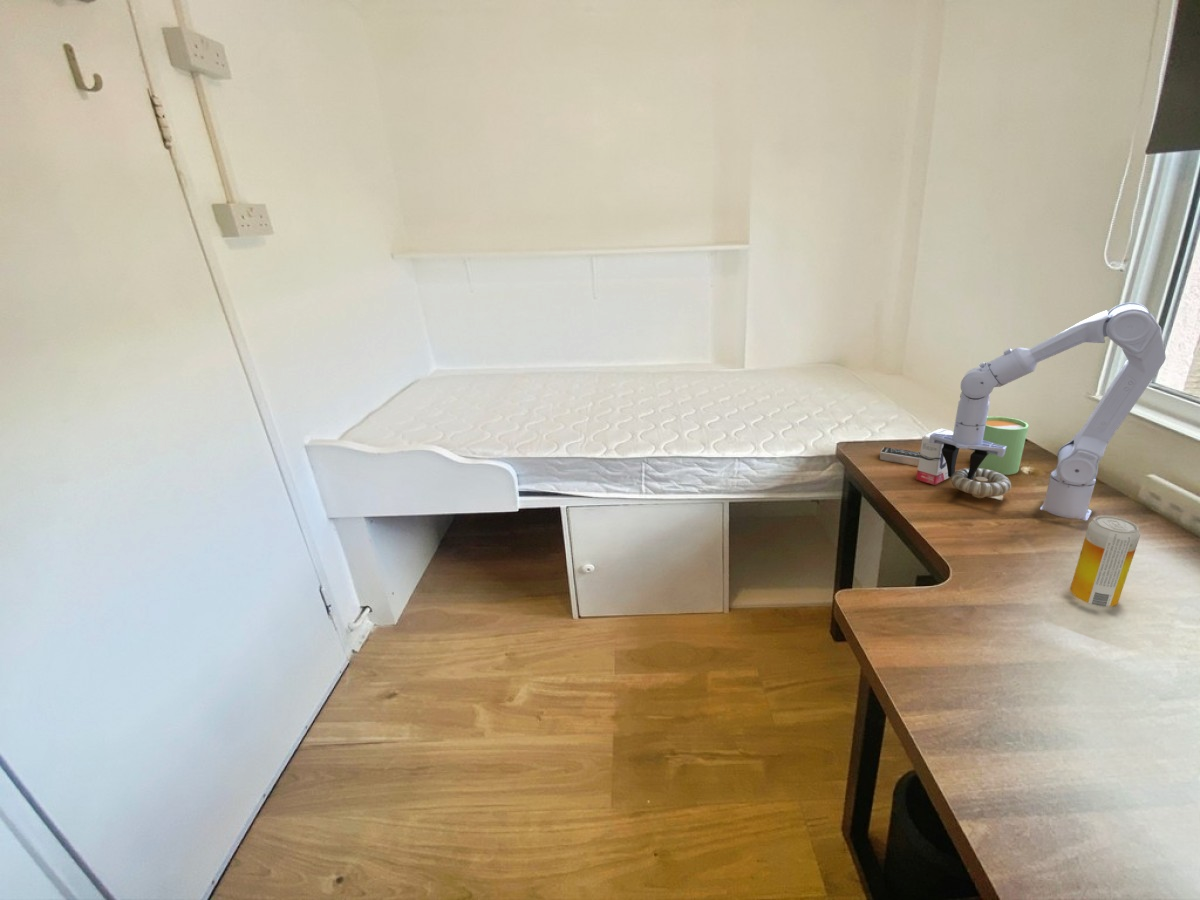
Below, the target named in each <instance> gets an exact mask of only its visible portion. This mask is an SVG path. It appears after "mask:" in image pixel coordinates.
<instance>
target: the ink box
mask: <svg viewBox="0 0 1200 900" xmlns="http://www.w3.org/2000/svg"><path fill="white" fill-rule="evenodd" d="M953 432H954V430H953V431H952V430H949V429H945V428H938V429H936V430H933V431H931V432H929V433H926V434H924V435H923V436H922V438H921V444H920V450H919V452H920V457H919V464H918V466H917V471H916V478H915V479H916V481H920V482H924V483H926V484H928V485H929V484H930V485H933V486H936V485H938V484H939V483H941V482H944V481H946V480H948V479H951V477H948V469H947V464H946V461H945V458H944V456H943V454H942V448H943V446H944V445H943V444H938V443H934V444H933V443H929V440H930V435H931V434H933V433H936V434H946V435H953Z"/></svg>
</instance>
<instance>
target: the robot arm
mask: <svg viewBox="0 0 1200 900" xmlns="http://www.w3.org/2000/svg"><path fill="white" fill-rule="evenodd" d="M1107 337H1108V339H1110V340H1111V342H1113V343H1114V344H1115V345H1116V346H1118V347H1120V348H1121V349H1122V352H1123V354H1124V355H1125V357H1126V360H1125V362H1124V363H1123V365H1122V367H1121V368H1120V370H1119V371H1118V373H1116V375H1115V377H1114V379H1113V380H1112V382H1111V383H1110V385H1109V386H1108V388H1107V389H1106V391H1105V392H1104V394H1103V395H1102V397H1101V399H1100V400H1099V402H1098V403H1097V405H1096V406H1095V407H1094V409H1093V411H1092V412H1091V413H1090V415H1089V417H1088V418H1087V420H1086V421H1085V422H1084V425H1083V426H1082V427H1081V429H1080V430H1078V431H1077V433H1076V434H1074V436H1073V437H1072V439H1071V440H1069V442H1067V443H1065V444H1063V445H1062V446H1060V448H1059V449H1058V451H1057V453H1056V454H1057V455H1056V456H1057V465H1056V468H1055V469H1054V470H1052V471H1051V472H1050V476H1049V480H1048V484H1047V487H1046V493H1045V497H1044V500H1043V503H1042V505H1041V506H1040V507H1039V510H1041V511H1045V512H1047V513H1049V514H1051V515H1053V516H1056V517H1060V518H1065V519H1074V520H1075V519H1076V520H1077V519H1079V520H1083V521H1088V520H1089V518H1090V516H1091V514H1092V509H1089V507H1090V503H1091V499H1092V496H1093V492H1094V489H1095V486H1096V482H1097V476H1098V474H1099V463H1100V461H1101V460H1102V459H1103V456H1104V455H1105V452H1106V449H1107V446H1108V444H1109V443H1110V441H1111V440H1112V438H1113V437H1114V436H1115V434H1116V432H1117V431H1118V429H1119V428H1120V427H1121V425H1122V423H1123V422H1124V421H1125V419H1126V418H1127V416H1129V414H1130V412H1131V411H1132V409H1133V408H1134V406H1135V405H1136V404H1137V402H1138V401H1139V399H1140V398H1141V396H1142V395H1143V394H1144V392H1145V391H1146V390H1147V388H1148V386H1149V385H1150V384H1151V382H1152V381H1153V380H1154V377H1155V376H1156V375H1157V373H1158V372H1159V370H1160V369H1161V368H1162V366H1163V365H1164V363H1165V361H1166V358H1167V355H1166V351H1165V345H1164V340H1163V334H1162V326H1160V325H1159V323H1158V322H1157V320H1156V318H1155V317H1154V315H1153V314H1152V313H1151V312H1150V310H1149V309H1148V308H1147V307H1146V306H1145V305H1143V304H1141V303H1138V302H1123V303H1120V304H1118V305H1116V306H1113V307H1112V308H1111V309H1110V310H1109V311H1108V310H1103V311H1100V312H1098V313H1096V314H1094V315H1091V316H1090V317H1088V318H1086V319H1083V320H1080V321H1079V322H1077V323H1075V324H1074V325H1072V326H1070V327H1068V328H1066V329H1064V330H1062V331H1060V332H1059V333H1057V334H1054V335H1052V336H1051V337H1049V338H1047V339H1045V340H1044V341H1041V342H1039V343H1038V344H1035V345H1034V346H1032V347H1030V348H1026V347H1025V348H1024V347H1016V348H1013V349H1012V348H1009V347H1008V348H1007V349H1005V350H1004V351H1003V354H1002V355H1000V356H998V357H996V358H993V359H992V360H990V361H988V362H985V361H983V362H981V363H980V364H979V366H977V367H973V368H970V369H969V370H967V372H966V373H965V374H964V376H963V377H962V379H961V382H960V390H961V392H960V394H959V398H960V399H959V401H958V403H957V409H956V415H955V422H954V425H953V426H954V427H953V435H946V434H936V433H933V434H931V435H930V440H929V443H933V444H934V443H938V444H943V445H944V446H943V448H942V454H943V456H944V458H945V461H946V464H947V469H948V477H950V478H951V476H952V474H953V473H954V472H955V471H956V465H957V460H958V455H959V451H960V449H962V450H969V451H972V453H971V454H970V459H969V467H968V468H969V472H968V476H967V478H968V479H970V480H972V479H973V477H974V474H975V472H976V470H977V468H978V467H979V465H980V464H981V462H982V461H983V460H984V458H985V457H986V456H987V455H988V454H989V453H990V454H995V455H997V456H999V457H1003V456H1004V455H1005V451H1006V446H1002V445H998V444H995V443H991V442H988V441H985V440H983V436H984V431H985V426H986V420H987V417H988V415H989V410H990V405H991V404H990V397H991V393H992V392H993V390H994V388H1001V387H1004V386H1005V385H1007V384H1009V383H1012V382H1014V381H1016V380H1018V379H1020V378H1022V377H1025V376H1027V375H1029V374H1032V373H1033V372H1035V370H1036V368H1037V365H1038V363H1040V362H1043V361H1044V360H1047V359H1049V358H1051V357H1054V356H1056V355H1058V354H1061V353H1063V352H1066V351H1067V350H1070V349H1072V348H1075V347H1077V346H1079V345H1081V344H1083V343H1093V344H1105V343H1106V340H1105V338H1107ZM973 451H974V452H973Z"/></svg>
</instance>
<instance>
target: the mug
mask: <svg viewBox="0 0 1200 900" xmlns="http://www.w3.org/2000/svg"><path fill="white" fill-rule="evenodd" d="M1029 426H1030V425H1029V423H1028V422H1026V421H1025V420H1022V419H1018V418H1013V417H1007V416H987V420H986V426H985V431H984V436H983V440H985V441H988V442H991V443H995V444H998V445H1002V446H1006V451H1005V455H1004V456H1003V457H999V456H997V455H995V454H990V453H989V454H988V455H987V456H986V457H985V458H984V460H983V461H982V462H981V464H980V465H979V467H978V468H982V469H988V470H992V471H995V472H998V473H1001V474H1002V475H1004V476H1009V475H1015V474H1017V473H1019V470H1020V466H1021V463H1022V462H1021V461H1022V457H1023V453H1024V448H1025V443H1026V442H1028V439H1027V436H1028V430H1029ZM973 452H974V450H972V453H973Z"/></svg>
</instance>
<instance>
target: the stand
mask: <svg viewBox="0 0 1200 900" xmlns="http://www.w3.org/2000/svg"><path fill="white" fill-rule="evenodd" d="M975 481H977V482H983V483H987V482H988V479H987V478H985V477H975ZM971 496H972V497H974V498H978V499H983V498H985V496H977V495H973V494H971ZM990 498H991V499H996V500H1000V501H1003V499H1004V494H1003V495H1000V496H992V497H990Z"/></svg>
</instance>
